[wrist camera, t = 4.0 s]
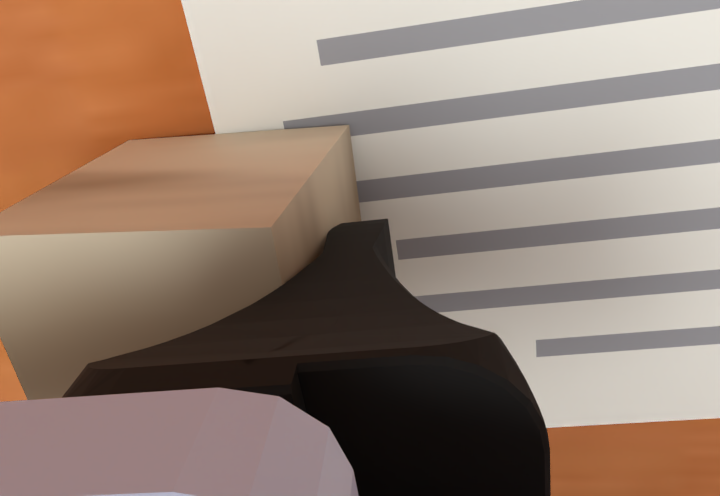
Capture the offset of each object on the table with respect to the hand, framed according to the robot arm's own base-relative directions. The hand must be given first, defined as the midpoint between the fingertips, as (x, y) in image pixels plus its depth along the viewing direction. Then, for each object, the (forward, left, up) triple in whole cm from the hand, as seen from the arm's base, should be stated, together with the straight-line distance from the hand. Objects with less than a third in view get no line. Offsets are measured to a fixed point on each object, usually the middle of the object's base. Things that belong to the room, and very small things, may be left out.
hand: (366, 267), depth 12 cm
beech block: (0, +3, -2) cm, 3 cm away
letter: (0, -4, -2) cm, 5 cm away
